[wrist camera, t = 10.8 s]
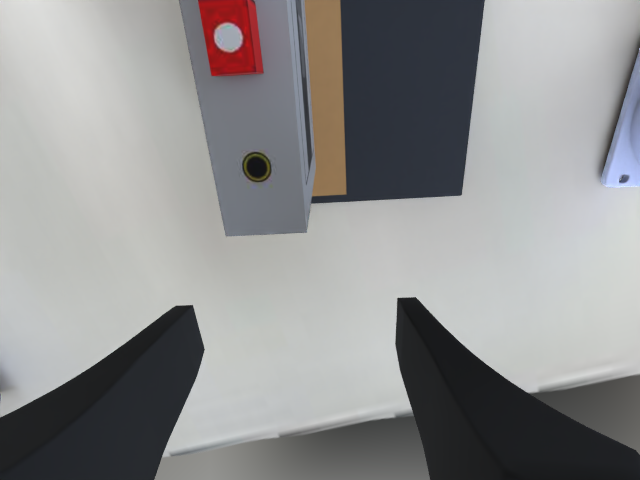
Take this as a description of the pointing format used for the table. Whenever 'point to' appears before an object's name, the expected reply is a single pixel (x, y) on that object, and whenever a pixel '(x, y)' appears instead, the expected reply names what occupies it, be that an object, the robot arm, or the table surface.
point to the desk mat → (391, 96)
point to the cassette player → (255, 109)
